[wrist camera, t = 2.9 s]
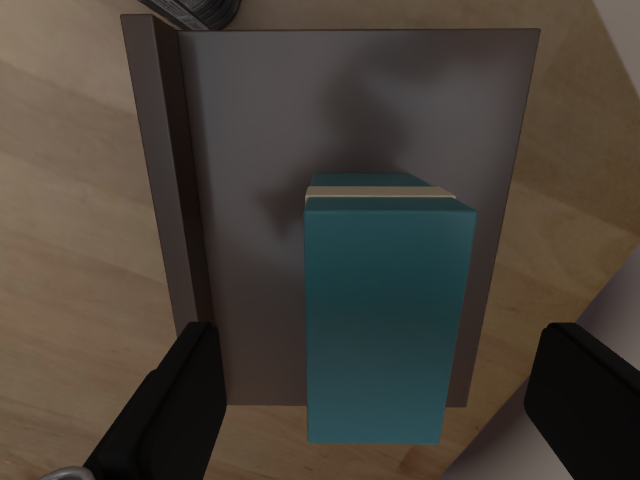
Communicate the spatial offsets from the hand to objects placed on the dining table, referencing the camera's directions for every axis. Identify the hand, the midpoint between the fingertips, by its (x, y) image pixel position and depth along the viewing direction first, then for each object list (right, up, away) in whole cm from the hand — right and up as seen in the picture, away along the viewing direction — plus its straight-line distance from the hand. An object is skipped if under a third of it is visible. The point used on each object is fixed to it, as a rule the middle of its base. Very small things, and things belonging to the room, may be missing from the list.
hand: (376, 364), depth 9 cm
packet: (0, +3, +7) cm, 8 cm away
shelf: (-1, +6, +16) cm, 18 cm away
